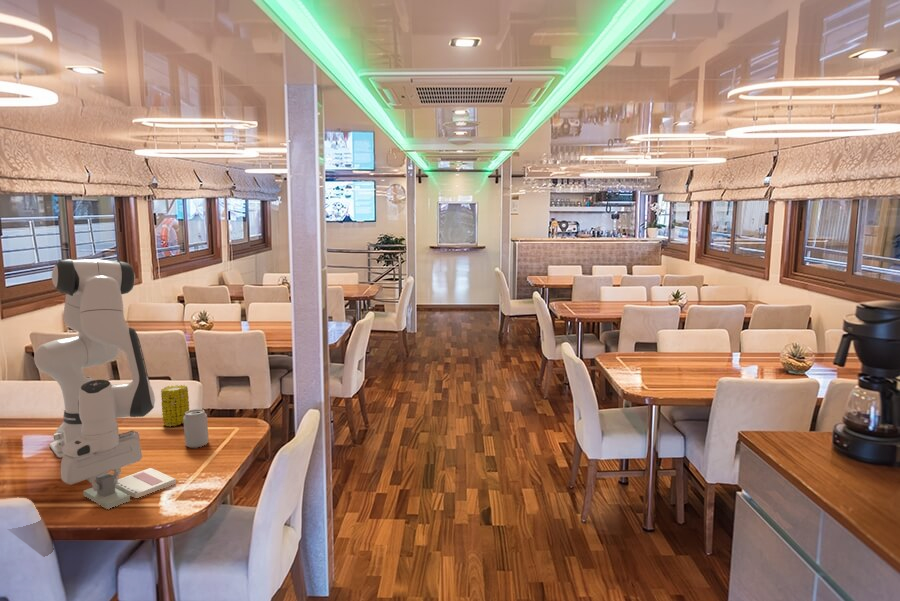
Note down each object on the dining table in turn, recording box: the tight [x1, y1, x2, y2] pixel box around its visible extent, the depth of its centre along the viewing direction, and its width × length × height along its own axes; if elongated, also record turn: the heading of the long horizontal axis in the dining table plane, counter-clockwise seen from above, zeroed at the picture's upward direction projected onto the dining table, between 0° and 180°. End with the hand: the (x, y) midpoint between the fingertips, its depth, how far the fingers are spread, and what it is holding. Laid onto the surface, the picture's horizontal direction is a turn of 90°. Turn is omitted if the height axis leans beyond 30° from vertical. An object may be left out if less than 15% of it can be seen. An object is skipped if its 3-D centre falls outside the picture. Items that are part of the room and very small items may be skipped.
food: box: [160, 384, 190, 428], centre depth 230 cm, size 15×12×10 cm
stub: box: [82, 472, 131, 510], centre depth 168 cm, size 14×6×7 cm, turn 54°
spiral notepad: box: [115, 467, 177, 499], centre depth 177 cm, size 14×12×2 cm
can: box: [183, 408, 209, 449], centre depth 207 cm, size 8×8×12 cm
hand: (105, 487), depth 168 cm, fingers closed on stub, 3 cm apart
